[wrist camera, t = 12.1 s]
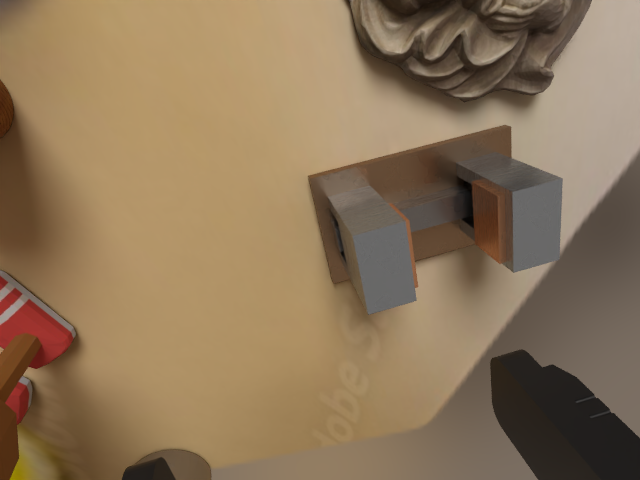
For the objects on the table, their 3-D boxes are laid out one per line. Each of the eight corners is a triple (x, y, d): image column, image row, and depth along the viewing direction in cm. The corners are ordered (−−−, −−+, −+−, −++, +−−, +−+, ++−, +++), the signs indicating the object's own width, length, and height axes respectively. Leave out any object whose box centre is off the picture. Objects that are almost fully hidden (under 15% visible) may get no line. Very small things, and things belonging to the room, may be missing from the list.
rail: (506, 230, 45) (575, 275, 36) (331, 278, 44) (357, 338, 35) (504, 125, 40) (582, 147, 31) (308, 175, 39) (330, 214, 30)
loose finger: (387, 250, 42) (423, 298, 34) (342, 263, 42) (368, 314, 34) (376, 183, 39) (413, 219, 31) (327, 196, 39) (352, 236, 31)
